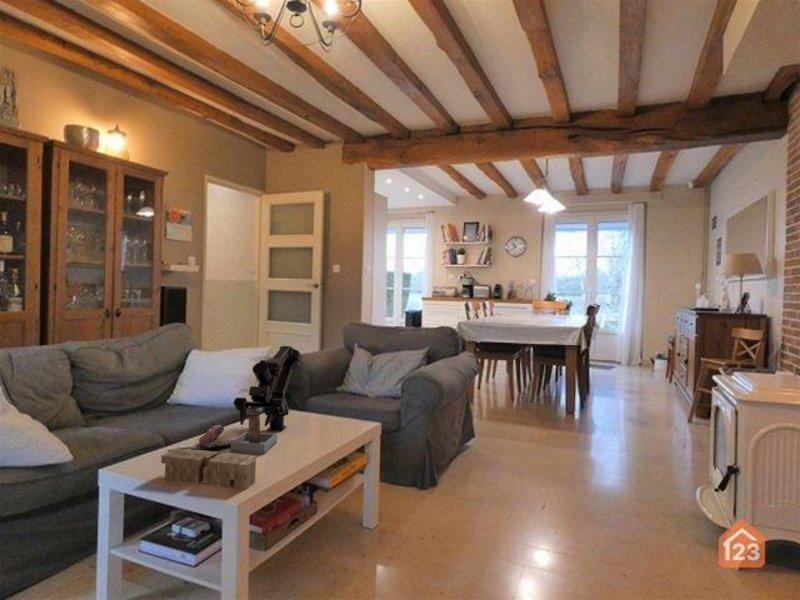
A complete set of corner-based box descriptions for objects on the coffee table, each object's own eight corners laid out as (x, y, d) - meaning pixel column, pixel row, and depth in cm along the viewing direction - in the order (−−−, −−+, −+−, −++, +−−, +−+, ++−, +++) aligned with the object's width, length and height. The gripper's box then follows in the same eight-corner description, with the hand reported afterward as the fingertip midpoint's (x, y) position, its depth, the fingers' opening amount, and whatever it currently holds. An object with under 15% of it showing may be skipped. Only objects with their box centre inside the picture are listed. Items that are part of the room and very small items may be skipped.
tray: (245, 441, 186) (245, 432, 186) (276, 442, 185) (277, 433, 185) (230, 452, 174) (230, 442, 174) (264, 454, 172) (264, 444, 172)
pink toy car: (206, 448, 182) (214, 432, 181) (196, 442, 182) (204, 426, 182) (221, 440, 191) (228, 425, 191) (211, 434, 192) (219, 419, 191)
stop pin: (256, 440, 183) (255, 405, 183) (265, 443, 180) (265, 408, 179) (243, 445, 179) (242, 409, 178) (253, 448, 176) (252, 411, 175)
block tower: (259, 483, 150) (177, 470, 156) (260, 456, 150) (178, 445, 156) (246, 493, 142) (160, 480, 148) (247, 465, 142) (161, 453, 148)
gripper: (235, 376, 183) (221, 412, 173) (283, 378, 182) (272, 415, 171) (244, 392, 192) (231, 428, 181) (289, 394, 190) (279, 430, 179)
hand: (253, 425), depth 178 cm, fingers open, 9 cm apart
